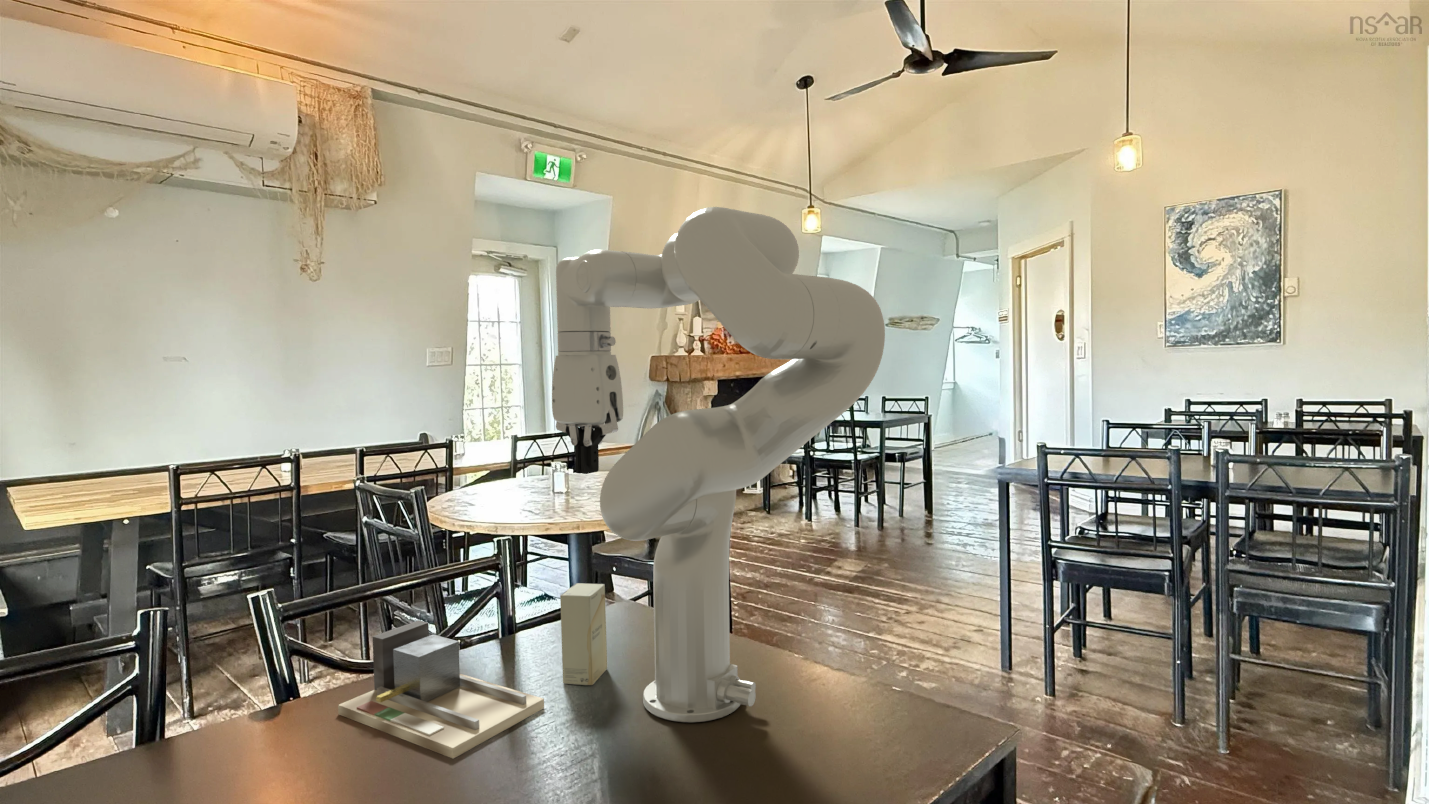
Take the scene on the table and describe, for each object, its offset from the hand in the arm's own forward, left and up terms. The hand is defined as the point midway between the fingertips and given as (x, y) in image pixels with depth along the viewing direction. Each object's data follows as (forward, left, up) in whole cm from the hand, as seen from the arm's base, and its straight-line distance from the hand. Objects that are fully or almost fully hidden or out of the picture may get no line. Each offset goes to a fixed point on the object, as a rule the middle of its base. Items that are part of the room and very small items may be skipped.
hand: (587, 472), depth 111 cm
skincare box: (-4, +6, -27) cm, 28 cm away
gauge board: (+4, +23, -27) cm, 36 cm away
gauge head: (+8, +24, -26) cm, 36 cm away
